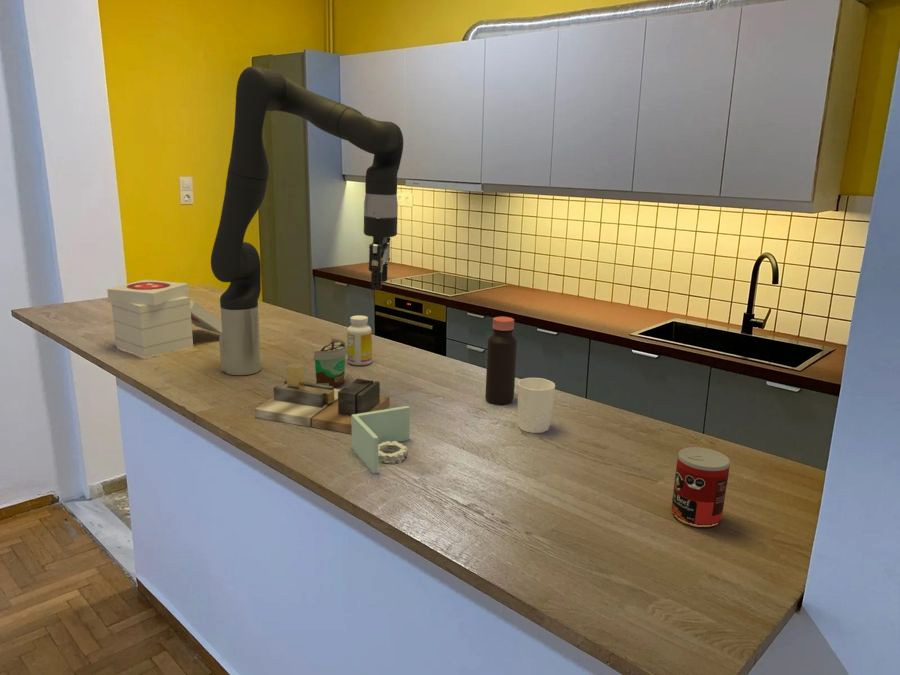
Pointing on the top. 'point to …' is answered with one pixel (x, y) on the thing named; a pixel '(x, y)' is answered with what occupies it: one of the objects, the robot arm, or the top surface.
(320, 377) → the food container
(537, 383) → the white cup
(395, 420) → the l-shaped corner panel
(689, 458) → the canned food
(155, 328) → the pizza boxes
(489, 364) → the vinegar
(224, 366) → the robot arm
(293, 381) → the wooden t-shaped block
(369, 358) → the supplement bottle
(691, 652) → the top surface
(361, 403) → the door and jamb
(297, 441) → the top surface
